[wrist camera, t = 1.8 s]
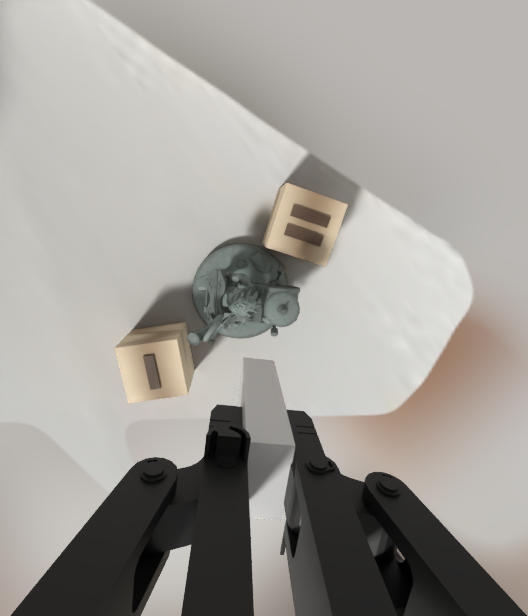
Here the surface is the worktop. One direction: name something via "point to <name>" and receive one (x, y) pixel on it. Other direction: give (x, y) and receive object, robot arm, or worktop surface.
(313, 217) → the marked cube
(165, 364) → the marked cube
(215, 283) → the figurine
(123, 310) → the worktop surface
